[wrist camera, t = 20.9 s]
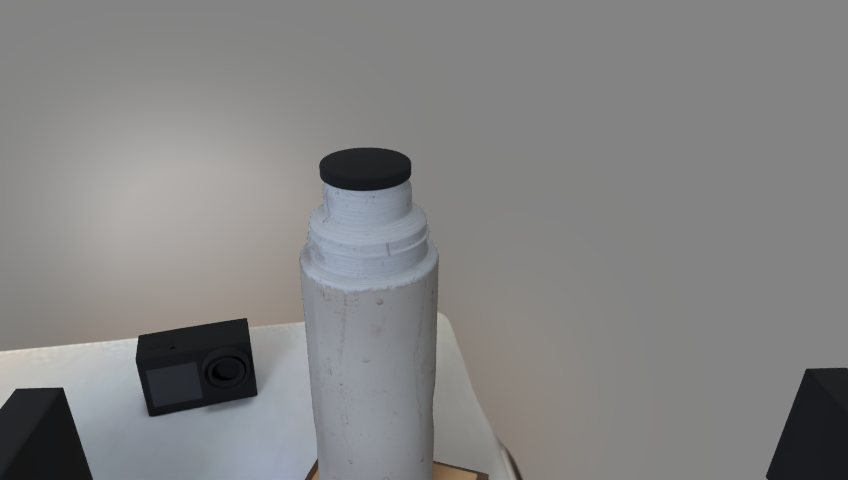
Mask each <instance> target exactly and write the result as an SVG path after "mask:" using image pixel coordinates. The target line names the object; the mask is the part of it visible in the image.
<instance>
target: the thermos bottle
mask: <svg viewBox="0 0 848 480" xmlns="http://www.w3.org/2000/svg"><path fill="white" fill-rule="evenodd" d="M319 168H320V177H321V179H322V180H323V181H324V182H325V183H324V185H323V203H324V204H322V205H320V206H319V207H318V208H317V209H315V210H314V211H313V213H312V214H311V216H310V220H309V228H310V230H309V232H308V237H307V239H308V243H307V244H306V245H305V246H304V248H303V249H302V251H301V254H300V259H299V262H300V272H301V283H302V294H303V306H304V316H305V328H306V338H307V349H308V360H309V371H310V382H311V393H312V404H313V414H314V422H315V428H316V436H317V451H318V470H319V480H433V448H434V425H433V395H434V387H435V372H436V335H437V298H438V297H437V296H438V259H439V256H438V251H437V247H436V246H435V244H434V243H433V241H431V240H430V239H429V238H428V235H429V232H430V230H429V225H428V224H427V218H426V214H425V212H424V210H423V209H422V208H421V207H420V206H418V205H417V204H416V203H414V202H412V187H411V183H410V181H409V178H410V175H411V161H410V159H409V158H408V157H407V156H405V155H404V154H402V153H399V152H396V151H393V150H388V149H381V148H353V149H347V150H341V151H337V152H334V153H331V154H329V155H327V156H326V157H324V158H323V159H322V160H321V162H320V165H319Z"/></svg>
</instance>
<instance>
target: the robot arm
mask: <svg viewBox="0 0 848 480" xmlns="http://www.w3.org/2000/svg"><path fill="white" fill-rule="evenodd" d="M766 478H767V479H768V480H848V369H847V368H820V369H806V371H805V374H804V376H803V379H802V382H801V384H800V387H799V390H798V392H797V395H796V398H795V400H794V403H793V406H792V408H791V411H790V413H789V416H788V419H787V421H786V424H785V427H784V430H783V432H782V435H781V438H780V440H779V443H778V445H777V448H776V451H775V454H774V456H773V459H772V462H771V464H770V467H769V469H768V472H767V475H766ZM0 480H93V478H92V475H91V472H90V469H89V466H88V463H87V460H86V457H85V454H84V451H83V448H82V445H81V441H80V438H79V435H78V432H77V429H76V426H75V423H74V420H73V417H72V414H71V411H70V408H69V405H68V402H67V399H66V396H65V392H64V389H63V388H27V389H16V390H15V391H14V392H13V394H12V395H11V396H10V398H9V399H8V400H7V401H6V403H5V404H4V405H3V406H2V408H1V409H0Z"/></svg>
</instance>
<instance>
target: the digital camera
mask: <svg viewBox="0 0 848 480" xmlns="http://www.w3.org/2000/svg"><path fill="white" fill-rule="evenodd" d="M136 364H137V369H138V373H139V377H140V381H141V385H142V389H143V393H144V397H145V400H146V404H147V408H148V412H149V416H155V415H160V414H166V413H171V412H176V411H181V410H186V409H191V408H196V407H202V406H207V405H212V404H217V403H222V402H227V401H232V400H237V399H242V398H246V397H251V396H256V395H257V387H256V379H255V372H254V364H253V357H252V350H251V343H250V336H249V329H248V322H247V318H243V319H237V320H230V321H224V322H218V323H211V324H205V325H199V326H193V327H186V328H180V329H175V330H169V331H163V332H157V333H151V334H145V335H140V336H139V337H138V345H137V353H136Z"/></svg>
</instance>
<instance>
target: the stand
mask: <svg viewBox="0 0 848 480" xmlns="http://www.w3.org/2000/svg"><path fill="white" fill-rule="evenodd" d="M488 477H489V475H488V474H485V473H481V472H477V471H473V470H469V469H465V468H461V467H456V466H452V465H448V464H444V463H440V462H436V461H433V480H488ZM305 480H319V470H318V458H317V460H316V462H315V464H314V465H313V467H312V469H311V470H310V472H309V474H308V475H307V477H306V479H305Z"/></svg>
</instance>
